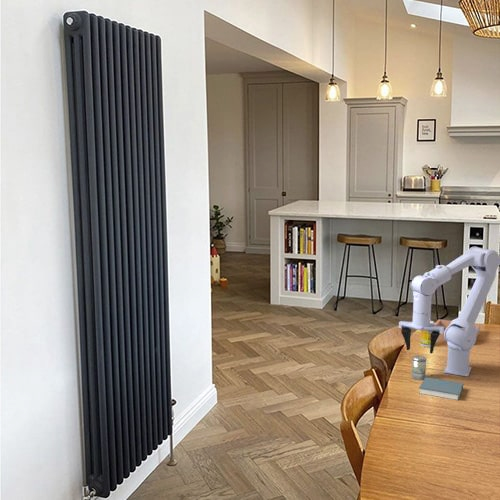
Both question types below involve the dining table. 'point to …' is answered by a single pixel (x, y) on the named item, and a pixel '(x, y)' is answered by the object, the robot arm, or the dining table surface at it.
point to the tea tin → (418, 367)
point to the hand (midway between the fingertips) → (419, 351)
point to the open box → (446, 323)
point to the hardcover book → (441, 388)
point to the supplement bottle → (426, 337)
